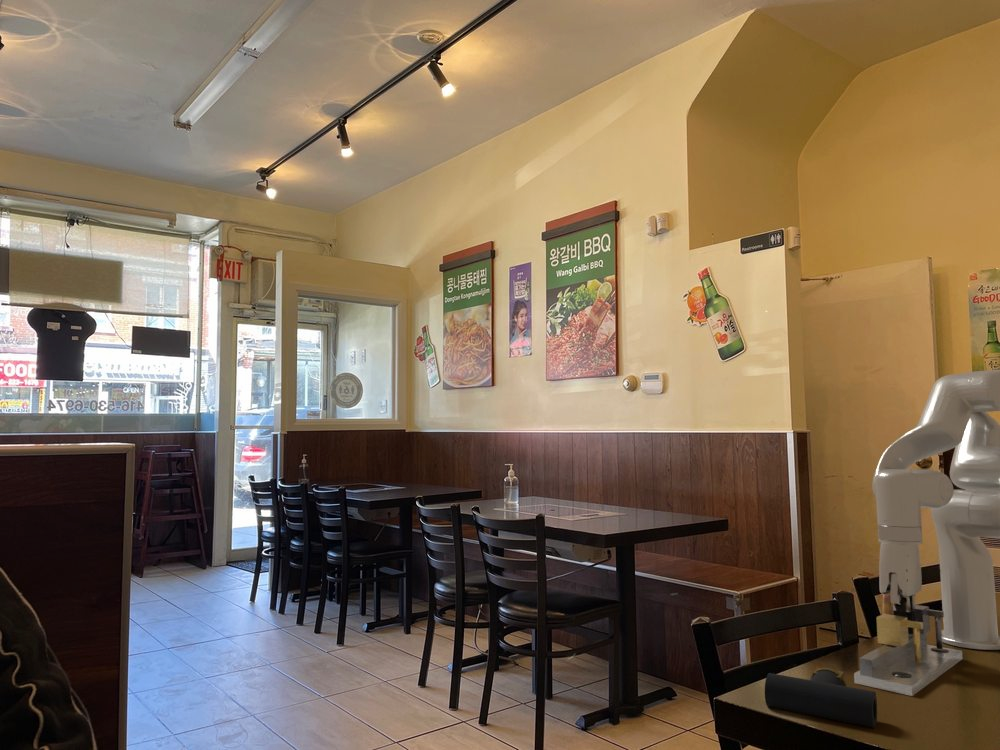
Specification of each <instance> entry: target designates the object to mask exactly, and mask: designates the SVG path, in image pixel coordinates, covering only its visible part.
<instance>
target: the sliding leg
mask: <svg viewBox="0 0 1000 750" xmlns="http://www.w3.org/2000/svg"><path fill="white" fill-rule="evenodd" d="M908 627H911V628H913V636H914V653H915V662H917V663H921V647H920V630H919V629H923V623H922V622H916V621H909V620H907V617H902V616H895V615H889V614H880V615H878V616H876V632H877V633H876V635H877V643H878V644H881V645H882V644H888V645H893V646H899V647H902V646H904V645H906V644H908V643H909V639H908Z"/></svg>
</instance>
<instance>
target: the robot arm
mask: <svg viewBox="0 0 1000 750" xmlns="http://www.w3.org/2000/svg"><path fill="white" fill-rule="evenodd" d="M988 412H1000V369H991V370H990V369H988V370H987V369H986V370H977V371H968V372H962V373H953V374H948V375H944V376H941V377H940V378H938V379H937V380H936V381H935V382H934V384H933V386H932V387H931V390H930V393H929V395H928V397H927V400H926V402H925V405H924V407H923V410H922V413H921V416H920V418H919V421H918V423H917V424H916V426H914V427H913V428H912V429H911V430H909V431H907V432H905V433H904V434H903V435H902V436H900V437H899V438H898V439H896V440H895V441H894V442H893V443H891V444H890V445H889V446H888V447H887V448H886V449H885V451H884V452H883V453H882V455H881V456H880V459H879V460H878V462H877V466H876V468H875V471H874V473H873V478H872V483H871V484H872V485H871V486H872V487H871V488H872V493H873V495H874V498H875V499H876V500H875V501H876V502H875V503H876V520H877V539H878V540H877V541H878V542H879V543H880V547H879V561H878V562H879V563H878V565H879V566H878V569H879V570H878V572H879V573H878V576H879V583H878V584H879V592H880V593H881V594H882V595H883V594H884V595H885V594H888V593H891V596H890V601H891V603H893V610H894V615H895V616H902V617H907V620H909V621H915V612H914V610H915V605H916V603H915V598H916V594H918V593H919V592H921V591H922V585H923V584H922V583H923V581H922V579H923V578H922V576H923V575H922V565H921V556H920V550H919V549H920V548H919V545H923V542H924V541H923V528H922V513H921V511H922V510H921V508H926V509H930V513H931V515H930V516H931V519H932V522H933V526H934V529H935V534H936V539H937V545H938V554H939V555H938V556H939V557H938V558H939V560H938V561H939V570H940V571H939V574H940V587H941V590H940V591H941V604H942V605H941V606H942V607H941V609H942V611H944V617H943V618H942V621H943V629H941V630H942V643H944V644H947V645H951V646H955V647H958V648H965V649H971V650H980V651H982V650H984V651H998V650H1000V635H999V630H998V617H997V614H998V613H997V602H996V601H997V600H996V589H995V588H996V587H995V586H996V585H995V573H994V560H993V556H992V554H991V553H990V551H989V549H988V548H987V546H986V545H985V544H984V542H983V541H982V540H981V539H980V538H990V539H991V538H992V539H1000V423H999V422H998V421H997V420H996V419H995V418H993V416H991V415H990V414H989V413H988ZM952 449H954V451H953V455H952V460H951V463H950V468H949V469H950V470H949V476H948V475H947V474H945V473H943V472H941V471H938V470H933V469H913V468H912V469H911V468H910V467H912V465H914V464H915V463H917V462H919V461H921V460H925V459H926V458H931V457H932V456H936V455H939V454H942V453H945V452H947V451H950V450H952ZM954 486H956V487H957V488H959V489H954ZM908 634H913V628H911V627H908Z"/></svg>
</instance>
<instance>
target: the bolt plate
mask: <svg viewBox="0 0 1000 750" xmlns="http://www.w3.org/2000/svg"><path fill="white" fill-rule="evenodd" d="M927 634H928V633H925V634H920V647H921V663H917V662H915V653H914V636H913V634H908V639H909V643H908V644H906V645H904V646H902V647H899V646H893V645H888V644H884V645H883V646H882V645H881V646H879V647H877V648H875V649H873V650H872V651H869V652H868V653H866V654H864V655H862V656H861V657H859V658H858V659H859V661H858V662H859V670H858V671H856V672H854V673H853V678H854V679H853V680H854V682H853V683H854V684H856V685H862V686H866V687H870V688H875V689H879V690H884V691H888V692H892V693H896V694H901V695H906V696H910V697H913V696H915V695H916V694H917V693H919V692H920V691H921V690H923V689H924V688H925V687H927V686H928V685H930V683H933V682H934V681H935V680H937V679H938V678H939V677H940V676H942V675H944V673H946V672H947V671H948V670H950V669H951V668H953V667H954V666H956V665H957V664H958V663H959V662H961V661H962V660H963V658H964V657H963V650H961V649H955V648H949V647H943V649H938V648H937V646H936V645H933V644H928V637H927V636H928V635H927Z"/></svg>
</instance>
